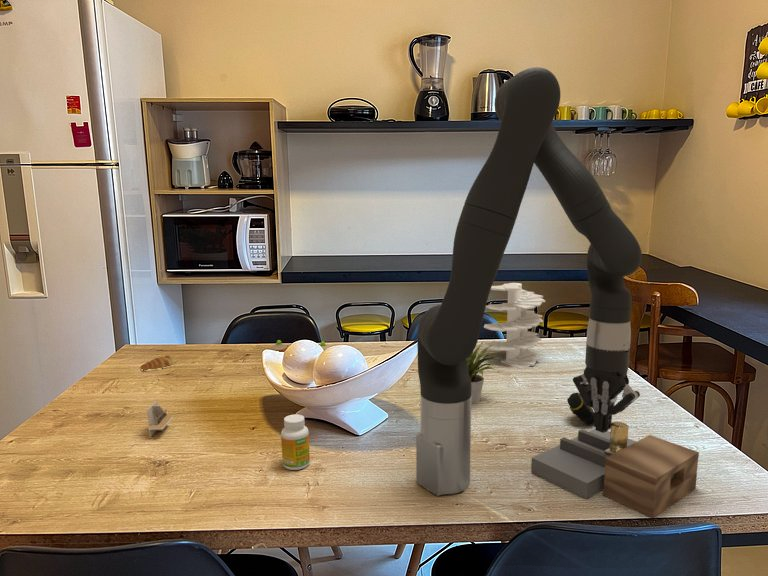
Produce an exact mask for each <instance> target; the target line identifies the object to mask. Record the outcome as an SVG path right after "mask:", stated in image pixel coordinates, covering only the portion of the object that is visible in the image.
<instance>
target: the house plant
mask: <svg viewBox="0 0 768 576" xmlns="http://www.w3.org/2000/svg"><path fill="white" fill-rule="evenodd" d="M484 342H485V340H484V341H482V342H481V343H480V344H479V345H478V346H476V347H475V349H474V351H473V352H472V354H471V355H470V356H469V357H468V358H467V359H466V360H467V368H468V373H469V376H470V379H471V386H472V389H471V405H473V404H478V403H479V402H480V401H481V396H482V391H483V385H484V380H485V377H484V376H483V375H484V371H485V370H494V371H496V369H495V368H497V367H495V364H492V363H484V362H486V361H490V360H494V359H498V357H492V356H491V357H488V356H490V354H492V353H494V351H490V352H487V351H488V350H489V349H488V348H490V347H491V346H492V345H491V346H488V347H484V349H483V350H481V351H480V353H478V352H479V350H480V349H481V346H482V344H484Z"/></svg>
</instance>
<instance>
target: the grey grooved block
mask: <svg viewBox="0 0 768 576" xmlns="http://www.w3.org/2000/svg"><path fill="white" fill-rule="evenodd" d="M610 432H611V431H610V430H608V431H606V432H604V433H602V432H599V431H597V430H596V427H594V428H593V429H590V430H589V431H587V430H585V429H579V430H578V433H577V436H575V437H574V438H573V437H572V439H569V438H566V437H562V438H560V439H559V444H558V445H556V446H554V447H552V448H550V449H548V450H546V451H542V452H540V453H539V454H537V455H534V456H532V457H531V464H530V465H531V469H530V472H531V473H532V474H534V475H536V476H538V477H539V478H542V479H545V480H546V481H548V482H551V483H553V484H555V485H557V486H558V487H560V488H563V489H564V490H566V491H569V492H571V493H574V494H575V495H578V496H579V497H581V498H583V499H585V500H587V499H589V498H591V497H593V496H594V495H597V494H598V493H600V492H601V491H603V488H604V477H605V458H607V457H609V455H607V454H604V453H605V450H607V449H609V447H610ZM635 442H637V441H635V440H633V439H631V438H628V442H627V447H628V446H630V445H632V444H634V443H635Z"/></svg>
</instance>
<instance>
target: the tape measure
mask: <svg viewBox="0 0 768 576" xmlns="http://www.w3.org/2000/svg"><path fill="white" fill-rule="evenodd" d="M567 404H568V405H569V410H570V411H571V413H572V414H573V415H575V416H576V417H577V418H578V419H579V420H580V421H581V422H583V423H585V424H587V425H594V410H593V408H592V407H590V406H587V405H586V404H585V402H584V400H583V399H582V397H581V395H580V393H579V392H573V393H571V394H570V395H569V397H567Z"/></svg>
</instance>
